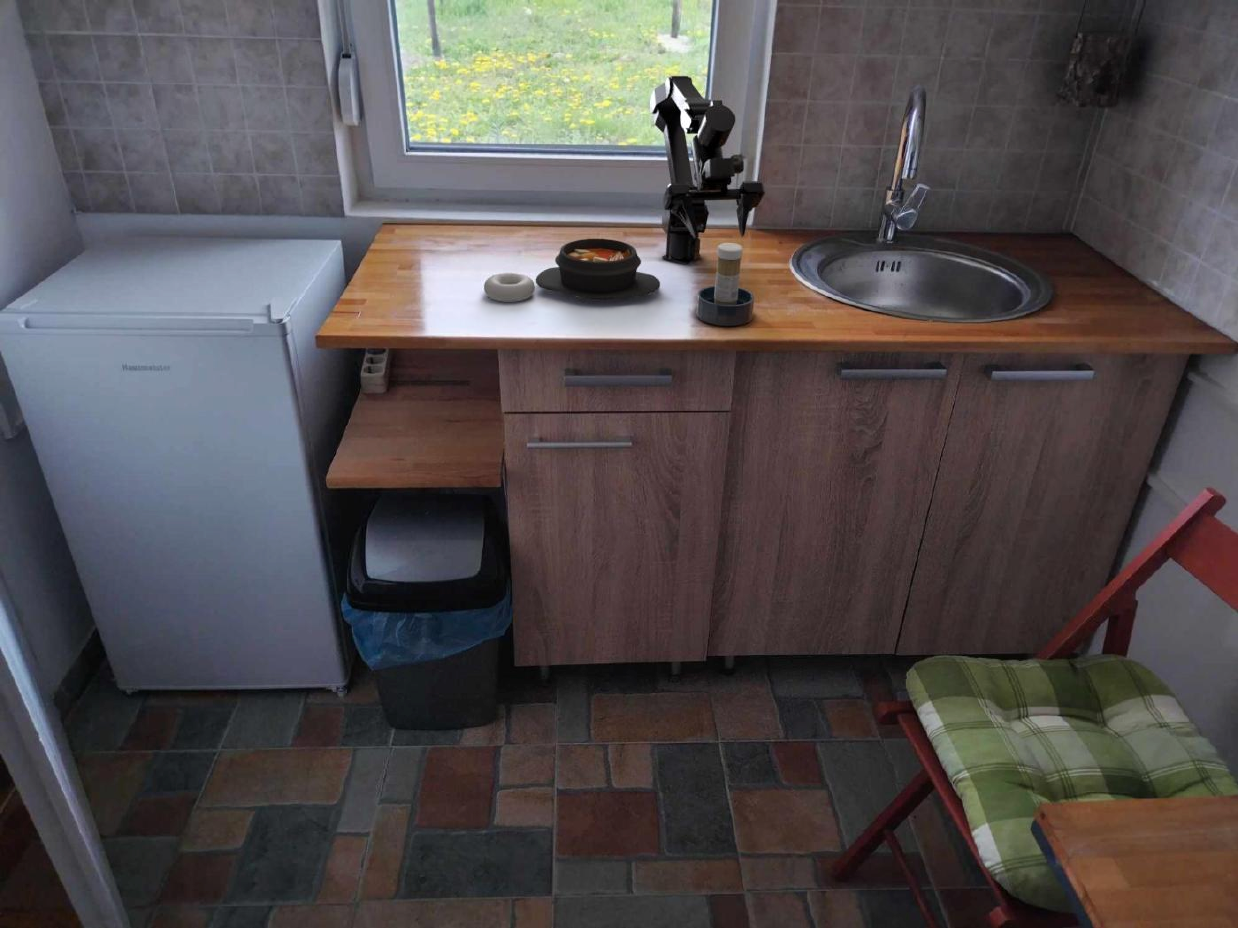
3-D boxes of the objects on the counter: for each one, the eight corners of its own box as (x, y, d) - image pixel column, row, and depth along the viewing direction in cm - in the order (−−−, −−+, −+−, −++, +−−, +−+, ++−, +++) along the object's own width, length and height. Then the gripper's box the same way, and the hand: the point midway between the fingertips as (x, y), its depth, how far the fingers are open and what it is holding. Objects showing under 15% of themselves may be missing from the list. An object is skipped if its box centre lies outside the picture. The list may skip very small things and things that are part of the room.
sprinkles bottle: (726, 308, 177) (732, 240, 170) (741, 316, 174) (748, 247, 167) (707, 313, 175) (712, 244, 168) (722, 321, 172) (728, 251, 165)
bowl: (686, 319, 173) (688, 298, 171) (710, 302, 181) (712, 281, 178) (738, 331, 168) (740, 310, 166) (760, 313, 176) (763, 292, 174)
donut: (522, 308, 176) (543, 290, 184) (521, 291, 174) (542, 273, 182) (475, 301, 178) (497, 283, 186) (474, 284, 177) (496, 266, 185)
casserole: (664, 279, 191) (666, 239, 187) (654, 312, 175) (656, 270, 171) (546, 270, 194) (545, 231, 189) (526, 302, 178) (525, 260, 174)
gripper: (669, 139, 168) (680, 216, 164) (767, 137, 171) (780, 213, 167) (658, 172, 178) (668, 245, 175) (750, 170, 182) (762, 242, 178)
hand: (719, 236), depth 174 cm, fingers open, 9 cm apart
